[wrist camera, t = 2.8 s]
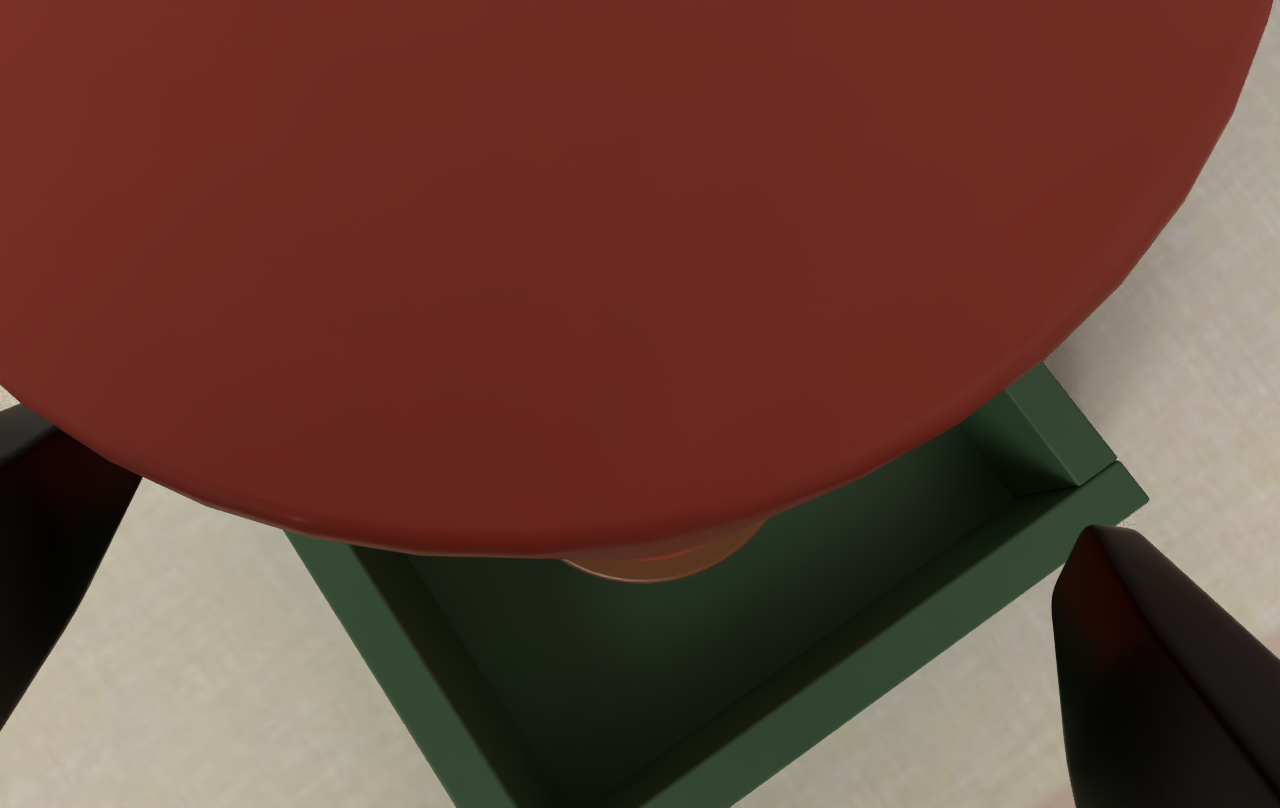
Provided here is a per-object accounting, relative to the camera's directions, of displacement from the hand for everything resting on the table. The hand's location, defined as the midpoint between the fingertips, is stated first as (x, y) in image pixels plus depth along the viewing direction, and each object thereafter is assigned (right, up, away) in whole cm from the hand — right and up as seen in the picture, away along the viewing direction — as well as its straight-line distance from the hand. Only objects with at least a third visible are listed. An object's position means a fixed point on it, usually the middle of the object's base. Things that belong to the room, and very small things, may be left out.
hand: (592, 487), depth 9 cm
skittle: (+1, 0, +10) cm, 10 cm away
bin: (+1, 0, +10) cm, 10 cm away
